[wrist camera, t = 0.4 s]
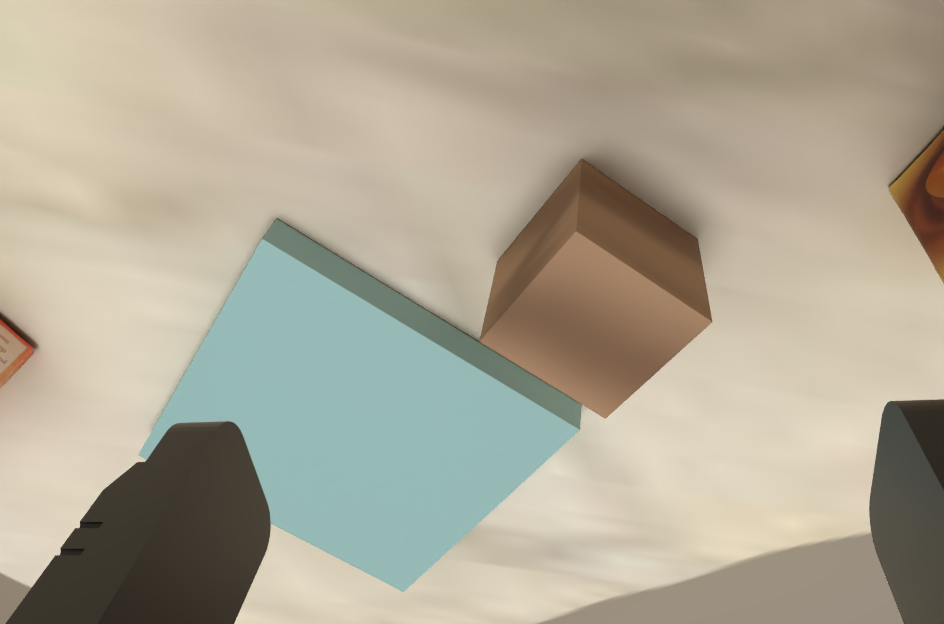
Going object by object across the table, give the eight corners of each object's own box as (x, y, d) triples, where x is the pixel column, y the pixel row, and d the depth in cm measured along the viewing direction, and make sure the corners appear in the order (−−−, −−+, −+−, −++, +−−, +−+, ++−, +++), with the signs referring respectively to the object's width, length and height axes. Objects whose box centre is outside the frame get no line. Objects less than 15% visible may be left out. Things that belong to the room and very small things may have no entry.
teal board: (276, 218, 29) (262, 238, 28) (580, 404, 32) (580, 429, 31) (153, 431, 37) (138, 455, 36) (409, 566, 40) (403, 591, 39)
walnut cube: (581, 157, 27) (576, 230, 23) (697, 238, 28) (712, 322, 24) (497, 260, 29) (479, 341, 25) (606, 329, 30) (605, 418, 26)
